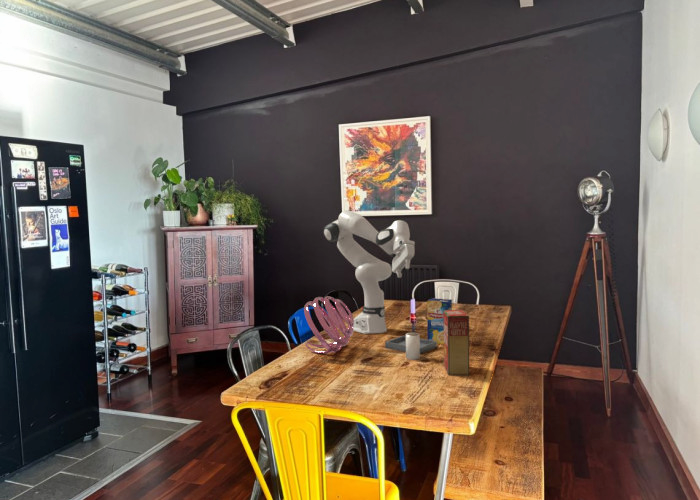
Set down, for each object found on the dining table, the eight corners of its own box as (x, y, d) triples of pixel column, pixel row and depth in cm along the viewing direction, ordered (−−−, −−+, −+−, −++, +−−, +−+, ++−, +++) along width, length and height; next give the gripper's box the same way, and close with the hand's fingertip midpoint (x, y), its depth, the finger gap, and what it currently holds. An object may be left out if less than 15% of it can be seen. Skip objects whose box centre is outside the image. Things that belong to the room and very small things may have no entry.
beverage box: (447, 344, 262) (448, 301, 260) (427, 342, 267) (427, 300, 265) (451, 341, 268) (452, 299, 266) (431, 339, 273) (431, 298, 271)
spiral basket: (277, 314, 247) (323, 283, 242) (302, 316, 273) (343, 288, 268) (304, 365, 238) (352, 334, 233) (327, 363, 264) (370, 335, 259)
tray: (385, 347, 257) (385, 341, 257) (403, 341, 270) (402, 335, 269) (419, 354, 245) (419, 348, 244) (436, 347, 257) (436, 341, 257)
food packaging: (442, 365, 227) (442, 309, 225) (464, 365, 227) (464, 309, 225) (447, 375, 214) (447, 315, 212) (470, 375, 213) (470, 315, 212)
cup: (403, 358, 240) (403, 334, 239) (410, 354, 244) (410, 332, 244) (414, 360, 235) (414, 336, 235) (422, 357, 240) (422, 333, 240)
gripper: (388, 257, 270) (389, 281, 263) (404, 237, 253) (406, 262, 247) (399, 259, 272) (400, 282, 265) (416, 240, 255) (418, 264, 248)
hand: (403, 272), depth 256 cm, fingers open, 8 cm apart
